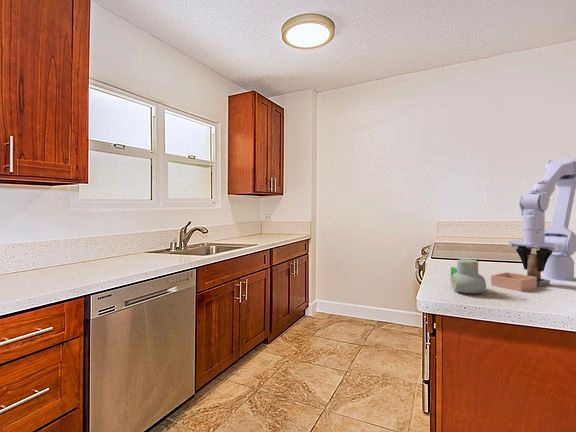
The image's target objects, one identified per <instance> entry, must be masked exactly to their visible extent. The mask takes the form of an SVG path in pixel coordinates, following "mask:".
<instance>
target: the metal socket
mask: <svg viewBox="0 0 576 432" xmlns="http://www.w3.org/2000/svg"><path fill="white" fill-rule="evenodd" d="M550 285H551V279H546V278H541V279H540V280H537V288H542V287H546V286H550Z"/></svg>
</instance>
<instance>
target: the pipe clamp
mask: <svg viewBox="0 0 576 432" xmlns="http://www.w3.org/2000/svg"><path fill="white" fill-rule="evenodd" d="M454 273H457V267H454V266H451V267H450V277H451V276H452V275H453V274H454Z"/></svg>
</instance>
